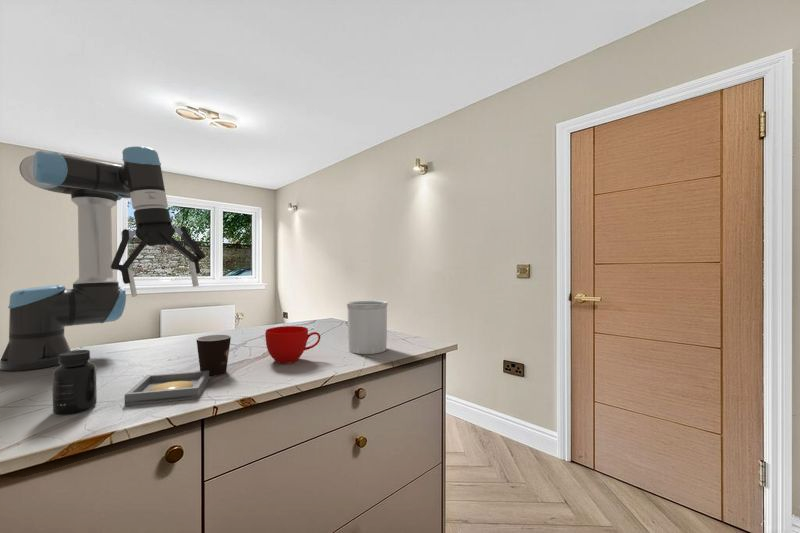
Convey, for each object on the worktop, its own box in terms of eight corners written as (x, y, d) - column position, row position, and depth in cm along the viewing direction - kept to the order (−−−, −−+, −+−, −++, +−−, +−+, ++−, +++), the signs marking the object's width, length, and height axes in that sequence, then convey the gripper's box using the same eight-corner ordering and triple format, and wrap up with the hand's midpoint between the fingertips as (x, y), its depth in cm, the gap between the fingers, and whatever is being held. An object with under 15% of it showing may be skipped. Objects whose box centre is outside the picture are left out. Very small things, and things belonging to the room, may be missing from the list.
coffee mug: (216, 379, 94) (216, 341, 94) (188, 376, 96) (188, 340, 96) (243, 366, 106) (244, 333, 106) (218, 365, 108) (218, 332, 108)
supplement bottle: (71, 403, 77) (71, 348, 77) (104, 402, 78) (105, 348, 78) (42, 416, 70) (42, 356, 70) (79, 415, 71) (79, 356, 71)
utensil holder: (340, 353, 123) (341, 303, 123) (353, 344, 137) (353, 299, 137) (382, 356, 120) (382, 304, 120) (390, 346, 135) (391, 300, 135)
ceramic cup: (320, 364, 109) (320, 332, 109) (262, 367, 105) (262, 334, 105) (319, 354, 122) (320, 325, 122) (268, 356, 118) (268, 326, 118)
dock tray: (146, 384, 89) (147, 375, 89) (209, 379, 94) (209, 370, 94) (124, 405, 76) (124, 394, 76) (198, 398, 81) (198, 387, 81)
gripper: (87, 208, 79) (106, 301, 80) (208, 205, 96) (222, 282, 97) (86, 214, 85) (103, 301, 85) (200, 210, 102) (213, 283, 103)
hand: (166, 291), depth 91 cm, fingers open, 13 cm apart
